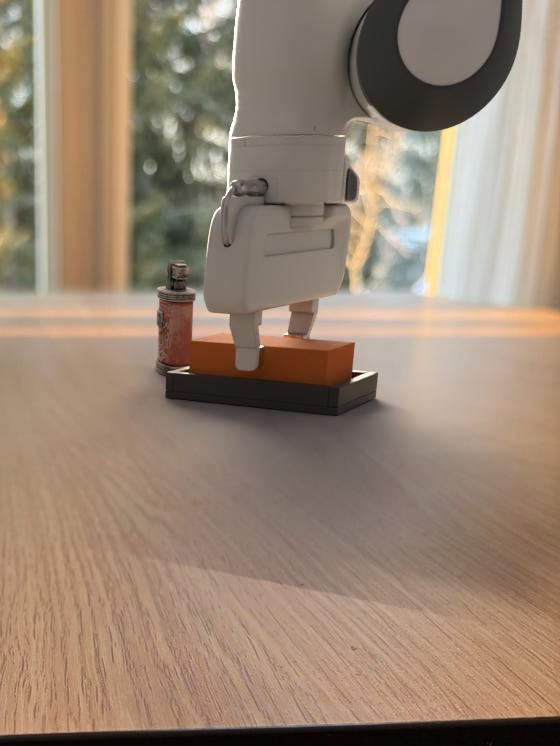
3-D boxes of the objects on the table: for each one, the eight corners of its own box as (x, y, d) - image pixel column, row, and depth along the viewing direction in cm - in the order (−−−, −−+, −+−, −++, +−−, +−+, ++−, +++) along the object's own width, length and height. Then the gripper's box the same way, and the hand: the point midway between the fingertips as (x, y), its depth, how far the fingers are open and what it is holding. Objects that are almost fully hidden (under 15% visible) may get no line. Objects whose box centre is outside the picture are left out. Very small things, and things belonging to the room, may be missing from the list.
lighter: (151, 364, 106) (153, 258, 102) (184, 363, 106) (187, 258, 102) (162, 377, 99) (165, 263, 95) (198, 376, 99) (202, 263, 95)
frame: (375, 397, 88) (378, 372, 87) (336, 415, 81) (339, 388, 80) (213, 382, 96) (214, 358, 95) (164, 397, 89) (165, 372, 88)
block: (350, 391, 87) (355, 342, 86) (324, 402, 83) (328, 350, 81) (219, 379, 93) (221, 332, 92) (188, 389, 89) (190, 340, 87)
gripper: (267, 178, 72) (255, 383, 78) (367, 180, 88) (352, 350, 93) (185, 179, 75) (180, 376, 81) (296, 181, 91) (285, 345, 97)
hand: (273, 362), depth 87 cm, fingers open, 8 cm apart
